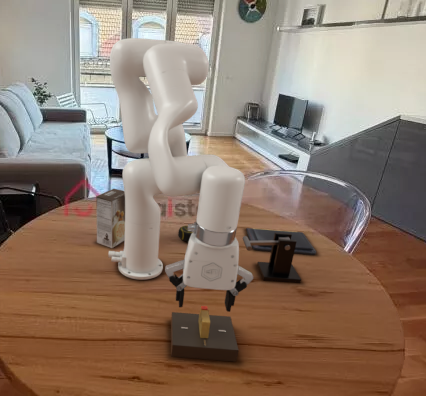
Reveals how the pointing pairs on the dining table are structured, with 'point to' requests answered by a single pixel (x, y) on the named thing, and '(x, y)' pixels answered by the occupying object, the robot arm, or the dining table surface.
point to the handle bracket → (280, 261)
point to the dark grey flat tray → (266, 234)
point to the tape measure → (184, 233)
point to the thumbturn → (204, 322)
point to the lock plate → (203, 347)
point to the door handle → (260, 242)
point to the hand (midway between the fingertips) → (203, 305)
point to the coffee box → (111, 218)
